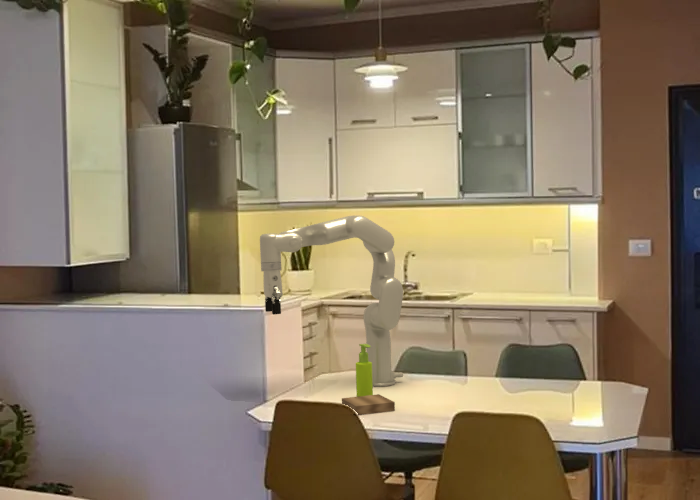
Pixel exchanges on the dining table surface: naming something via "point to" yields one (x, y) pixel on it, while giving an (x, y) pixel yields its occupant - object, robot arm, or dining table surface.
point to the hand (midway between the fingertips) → (273, 312)
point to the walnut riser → (369, 404)
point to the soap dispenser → (364, 373)
